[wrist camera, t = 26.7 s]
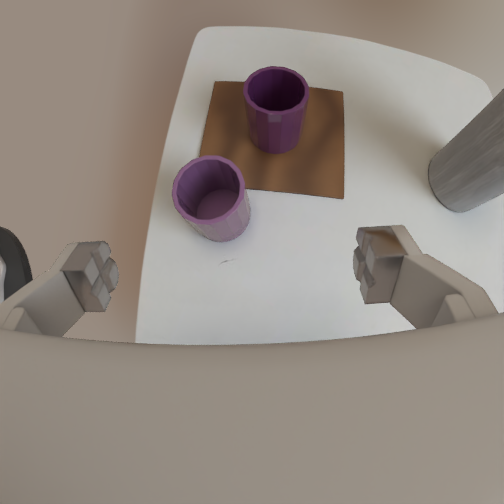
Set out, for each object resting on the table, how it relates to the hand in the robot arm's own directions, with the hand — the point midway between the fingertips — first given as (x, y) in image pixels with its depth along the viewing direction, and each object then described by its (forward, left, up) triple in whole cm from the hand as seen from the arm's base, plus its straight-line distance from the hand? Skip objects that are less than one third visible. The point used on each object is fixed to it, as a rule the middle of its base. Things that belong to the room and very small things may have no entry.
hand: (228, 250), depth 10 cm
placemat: (-15, +16, -29) cm, 36 cm away
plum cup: (-14, +16, -29) cm, 36 cm away
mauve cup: (-10, +2, -29) cm, 31 cm away
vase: (+8, +33, -30) cm, 45 cm away
